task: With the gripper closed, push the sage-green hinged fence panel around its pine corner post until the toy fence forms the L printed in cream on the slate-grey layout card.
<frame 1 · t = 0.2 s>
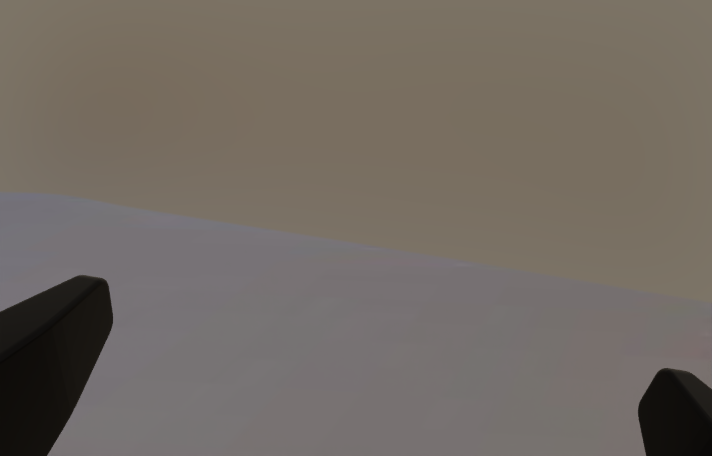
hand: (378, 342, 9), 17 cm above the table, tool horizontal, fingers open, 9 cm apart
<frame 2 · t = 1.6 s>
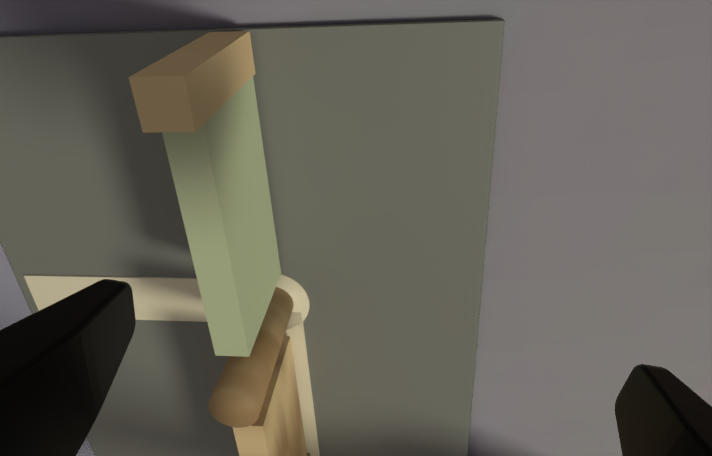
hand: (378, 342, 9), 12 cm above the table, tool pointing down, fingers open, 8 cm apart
layout card: (243, 295, 24), on the table
fence panel: (227, 201, 18), point 4 cm above the table, hinge at 0.0°
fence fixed: (276, 295, 24), resting on layout card
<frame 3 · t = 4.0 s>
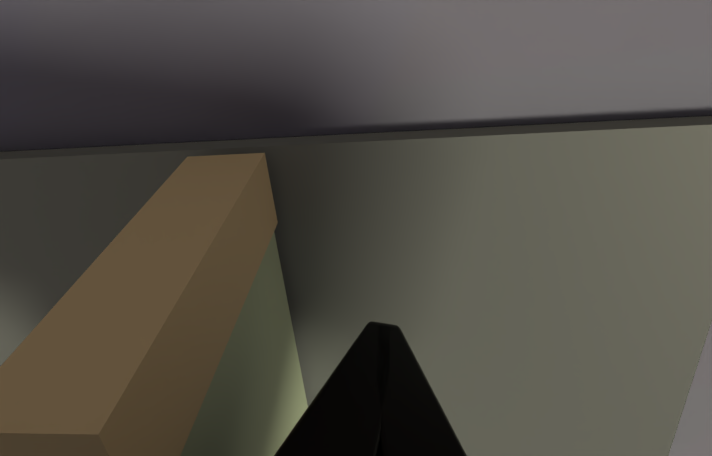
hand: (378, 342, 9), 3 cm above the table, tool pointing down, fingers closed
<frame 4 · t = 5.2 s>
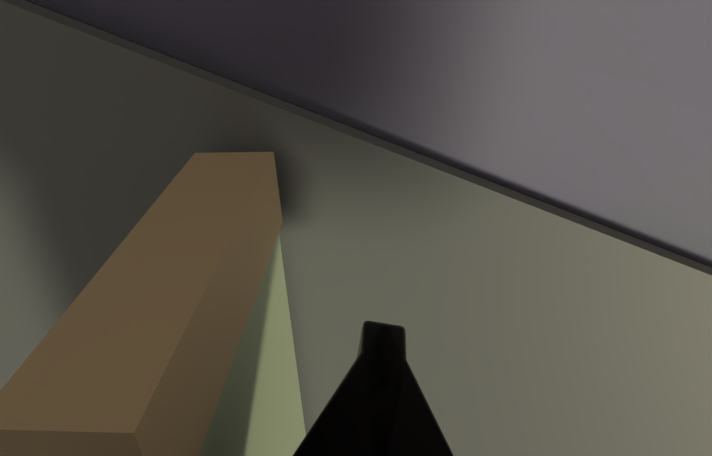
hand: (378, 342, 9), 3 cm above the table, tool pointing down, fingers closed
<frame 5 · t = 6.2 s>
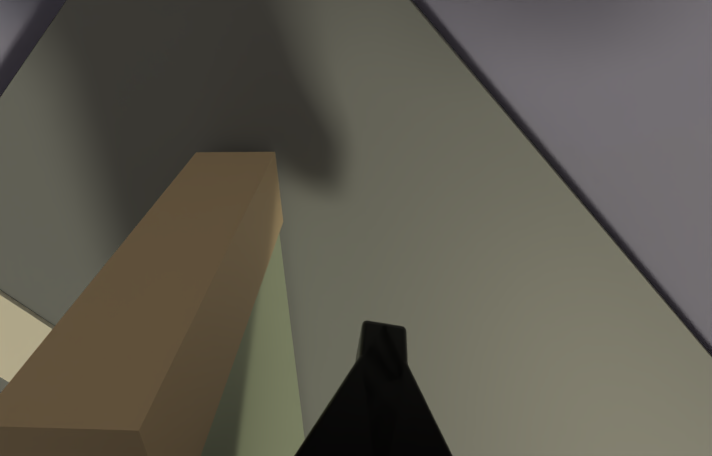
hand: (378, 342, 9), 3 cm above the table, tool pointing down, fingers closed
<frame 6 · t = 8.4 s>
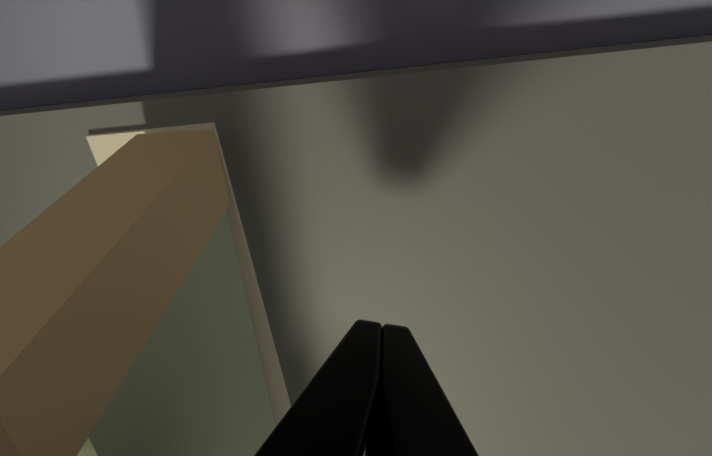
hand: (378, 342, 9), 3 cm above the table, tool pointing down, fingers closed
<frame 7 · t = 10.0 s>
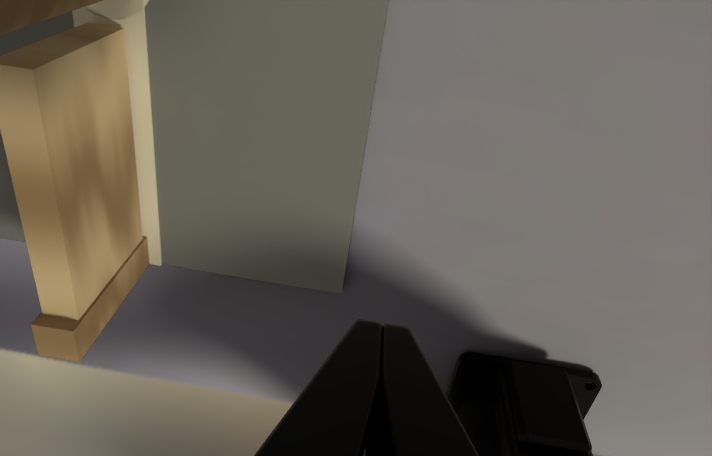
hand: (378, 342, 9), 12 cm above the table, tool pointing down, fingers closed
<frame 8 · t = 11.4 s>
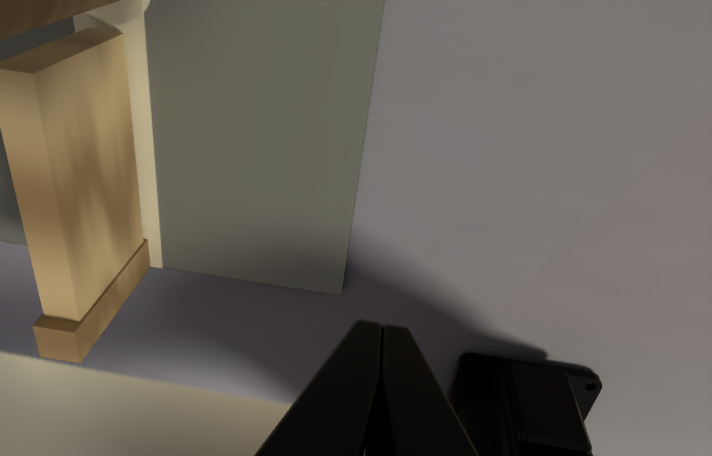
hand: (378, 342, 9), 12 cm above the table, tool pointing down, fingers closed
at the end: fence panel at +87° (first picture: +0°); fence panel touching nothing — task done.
